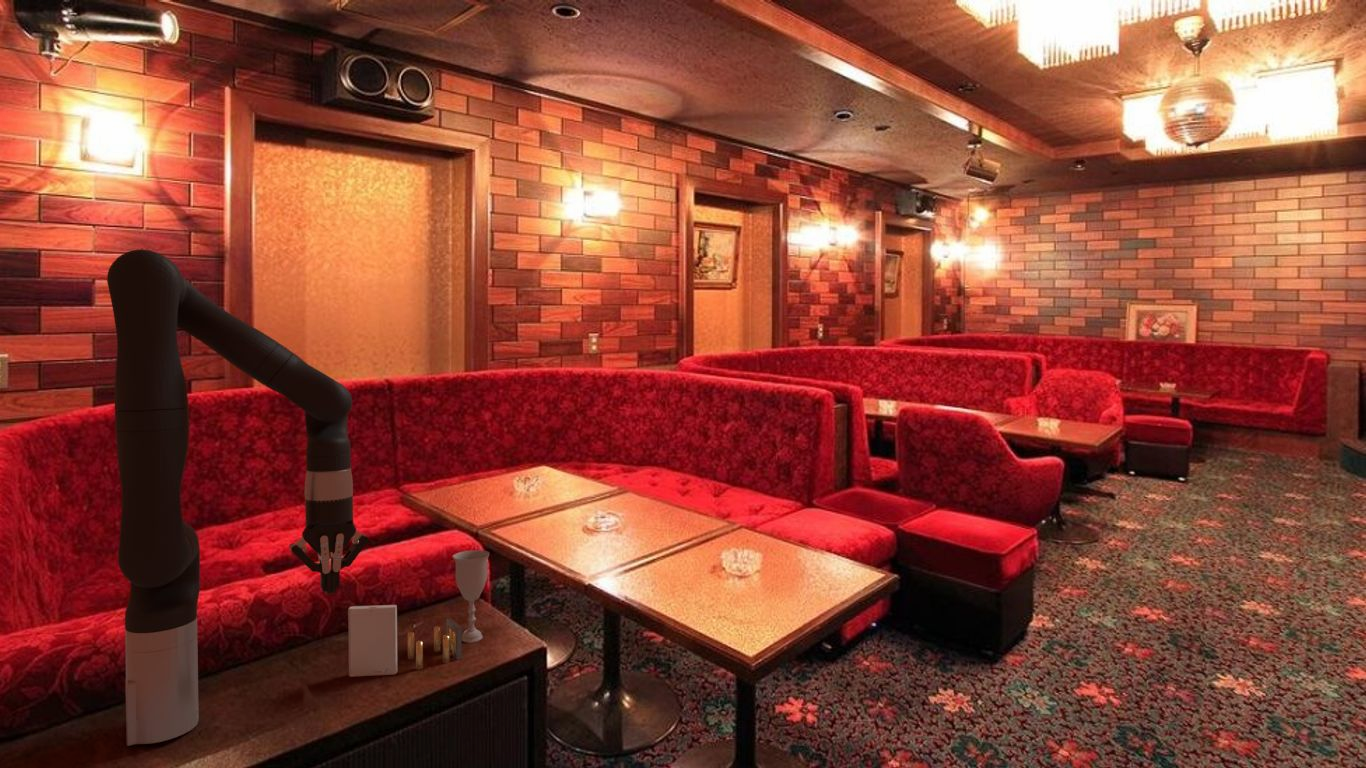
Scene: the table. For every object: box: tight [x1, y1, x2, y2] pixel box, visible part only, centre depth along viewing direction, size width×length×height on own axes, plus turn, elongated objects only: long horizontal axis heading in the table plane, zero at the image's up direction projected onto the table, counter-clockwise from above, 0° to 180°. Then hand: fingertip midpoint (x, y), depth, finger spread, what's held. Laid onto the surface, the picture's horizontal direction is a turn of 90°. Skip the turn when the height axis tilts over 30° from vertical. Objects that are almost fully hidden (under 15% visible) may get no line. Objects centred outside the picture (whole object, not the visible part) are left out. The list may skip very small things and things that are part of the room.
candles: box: [407, 617, 463, 671], centre depth 137 cm, size 9×6×6 cm
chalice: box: [452, 549, 490, 644], centre depth 145 cm, size 7×7×18 cm
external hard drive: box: [347, 604, 398, 678], centre depth 131 cm, size 2×8×12 cm, turn 98°
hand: (330, 592), depth 126 cm, fingers closed
